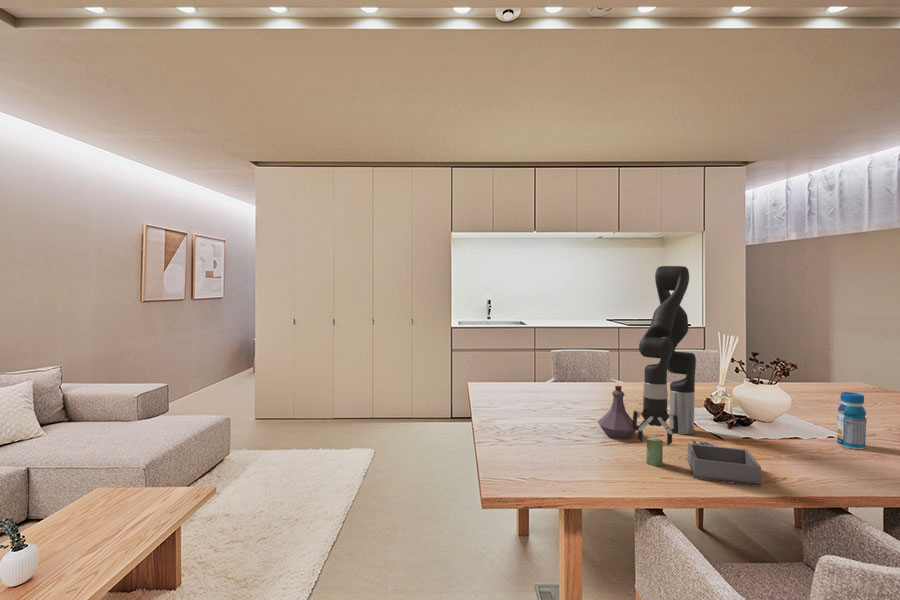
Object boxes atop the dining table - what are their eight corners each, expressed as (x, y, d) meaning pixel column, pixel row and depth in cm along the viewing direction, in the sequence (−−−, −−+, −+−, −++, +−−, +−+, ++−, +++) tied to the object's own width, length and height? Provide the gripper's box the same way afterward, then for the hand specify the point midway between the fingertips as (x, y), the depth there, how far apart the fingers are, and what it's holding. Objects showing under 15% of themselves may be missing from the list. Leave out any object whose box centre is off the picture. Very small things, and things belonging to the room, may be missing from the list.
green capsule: (646, 460, 162) (646, 437, 162) (661, 461, 161) (662, 439, 160) (646, 465, 158) (647, 441, 157) (663, 467, 156) (663, 443, 156)
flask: (601, 426, 201) (602, 380, 200) (642, 432, 192) (643, 384, 192) (592, 437, 187) (592, 387, 186) (635, 444, 178) (636, 392, 178)
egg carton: (688, 448, 174) (688, 437, 174) (709, 449, 174) (709, 438, 174) (701, 458, 164) (701, 447, 164) (723, 459, 163) (723, 448, 163)
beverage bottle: (855, 451, 171) (856, 397, 170) (830, 443, 179) (832, 392, 178) (871, 448, 173) (873, 395, 172) (846, 441, 181) (848, 390, 180)
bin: (687, 460, 162) (687, 443, 162) (747, 467, 156) (747, 449, 155) (694, 478, 147) (694, 459, 147) (760, 486, 141) (761, 467, 140)
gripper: (677, 395, 159) (676, 442, 160) (632, 391, 164) (632, 437, 165) (679, 400, 152) (679, 449, 153) (633, 396, 157) (632, 443, 158)
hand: (654, 442), depth 159 cm, fingers open, 8 cm apart
